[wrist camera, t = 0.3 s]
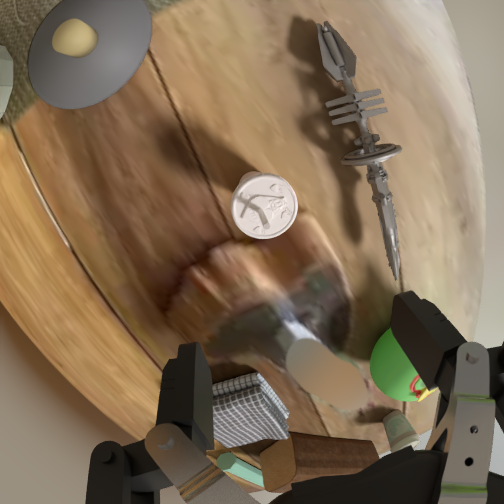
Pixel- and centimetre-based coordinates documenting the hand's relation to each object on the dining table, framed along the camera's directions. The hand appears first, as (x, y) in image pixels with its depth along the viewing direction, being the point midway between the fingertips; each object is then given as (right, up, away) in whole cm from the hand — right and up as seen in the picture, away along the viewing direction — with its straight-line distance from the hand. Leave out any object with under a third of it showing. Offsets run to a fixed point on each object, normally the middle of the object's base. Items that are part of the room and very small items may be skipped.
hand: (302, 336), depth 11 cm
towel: (-4, -27, +44) cm, 51 cm away
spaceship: (+12, +16, +25) cm, 32 cm away
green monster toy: (+27, -13, +40) cm, 50 cm away
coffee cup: (+37, -42, +55) cm, 78 cm away
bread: (+17, -52, +58) cm, 80 cm away
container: (-3, -58, +59) cm, 83 cm away
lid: (-23, +30, +15) cm, 40 cm away
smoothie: (-2, +12, +26) cm, 28 cm away
